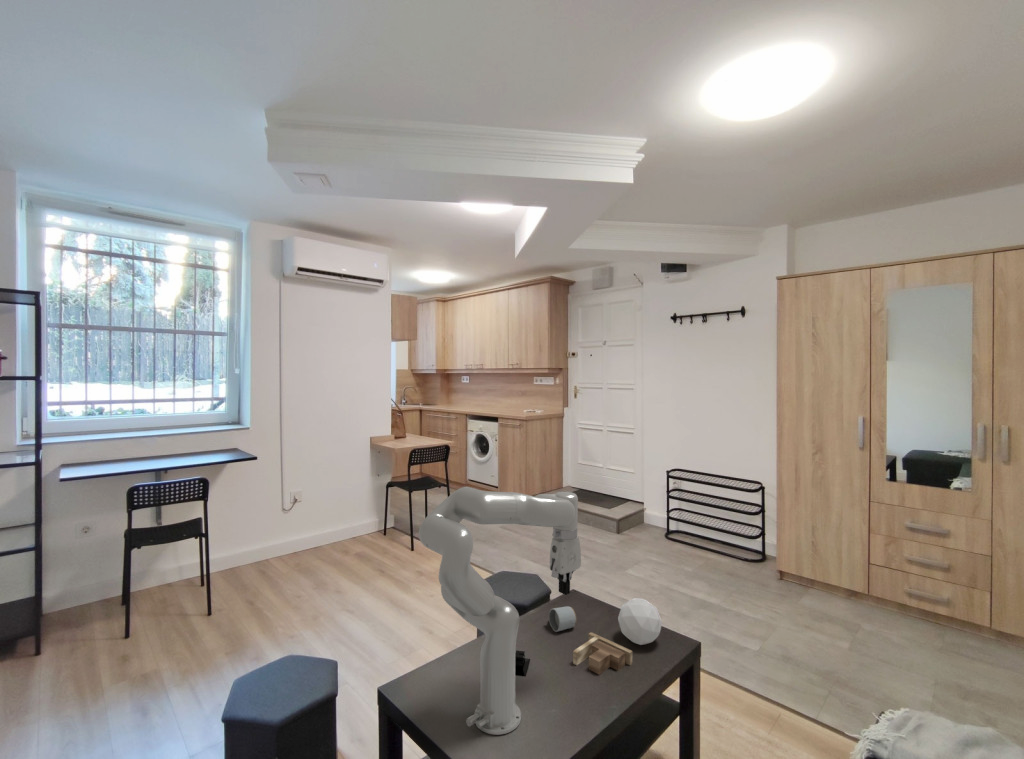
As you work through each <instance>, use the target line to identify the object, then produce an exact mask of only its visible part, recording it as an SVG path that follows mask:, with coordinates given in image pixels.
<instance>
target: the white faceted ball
mask: <svg viewBox="0 0 1024 759" xmlns="http://www.w3.org/2000/svg"><path fill="white" fill-rule="evenodd" d="M620 607H621V608H620V610H619V614H618V617H617V620H618V625H619V628H620V631H621V633H622V634H623V635H624V636H625V637H626V638H627V640H628V639H629V640H630V642H632V643H634V644H637V645H639V646H642V645H647V644H651V643H654V642H655V640H656V639H657V638H658V637H659V636H660V634H661V630H662V625H663V622H662V618H661V616H660V613H659V609H658V608H657V607H656V606H655V605H653V603H651V602H650V601H648V599H645V598H641V597H636V598H631V599H628V601H626V602H625V603H624V604H622V605H621V606H620Z"/></svg>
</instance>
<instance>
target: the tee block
mask: <svg viewBox="0 0 1024 759" xmlns="http://www.w3.org/2000/svg"><path fill="white" fill-rule="evenodd" d="M625 666H626V663H625V653H624V652H622V651H620V650H618V649H616V648H613V647H611V646H609V645H607V644H605V643H603V642H600V641H598V642H596V643H595V644H593V645H592V655H590V656H589V657H588V670H589V671H591V672H593V673H595V674H597V675H599V676H600V675H601V674H602V673H604V672H605V671H606V670H608V669H609V668H612V669H614V670H615V671H617V672H618V671H619V672H620V671H621V669H623V667H625Z"/></svg>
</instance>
